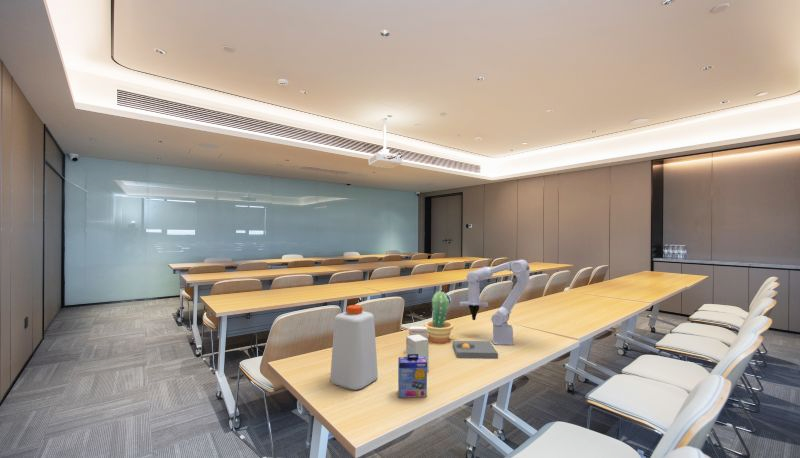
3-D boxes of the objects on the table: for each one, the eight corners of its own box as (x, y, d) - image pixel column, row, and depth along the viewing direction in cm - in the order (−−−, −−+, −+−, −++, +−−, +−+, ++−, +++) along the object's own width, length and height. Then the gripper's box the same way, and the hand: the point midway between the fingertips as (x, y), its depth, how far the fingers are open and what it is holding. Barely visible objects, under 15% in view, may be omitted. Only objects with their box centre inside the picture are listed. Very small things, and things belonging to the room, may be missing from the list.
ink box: (427, 351, 158) (427, 326, 158) (427, 355, 153) (427, 329, 153) (409, 350, 159) (409, 325, 159) (409, 354, 154) (409, 328, 154)
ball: (459, 350, 159) (466, 347, 160) (464, 355, 155) (472, 352, 157) (459, 343, 157) (466, 340, 159) (464, 348, 154) (471, 345, 155)
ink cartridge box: (398, 398, 113) (398, 355, 113) (397, 390, 119) (397, 349, 119) (427, 397, 114) (427, 354, 114) (425, 389, 119) (425, 349, 120)
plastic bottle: (357, 393, 117) (357, 313, 117) (325, 383, 125) (325, 307, 125) (382, 377, 129) (382, 305, 130) (351, 369, 137) (352, 300, 138)
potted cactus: (456, 344, 167) (456, 294, 167) (425, 344, 167) (425, 294, 167) (451, 335, 182) (451, 289, 183) (423, 335, 183) (423, 289, 183)
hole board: (489, 346, 165) (489, 341, 165) (497, 358, 149) (497, 352, 149) (452, 345, 165) (452, 340, 166) (457, 357, 150) (457, 352, 150)
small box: (428, 371, 135) (428, 339, 135) (415, 374, 132) (415, 341, 132) (419, 364, 142) (419, 333, 142) (405, 367, 139) (405, 335, 140)
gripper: (460, 295, 176) (460, 321, 176) (488, 295, 175) (488, 321, 174) (459, 292, 183) (459, 317, 183) (486, 293, 182) (486, 318, 181)
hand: (473, 319), depth 179 cm, fingers closed
